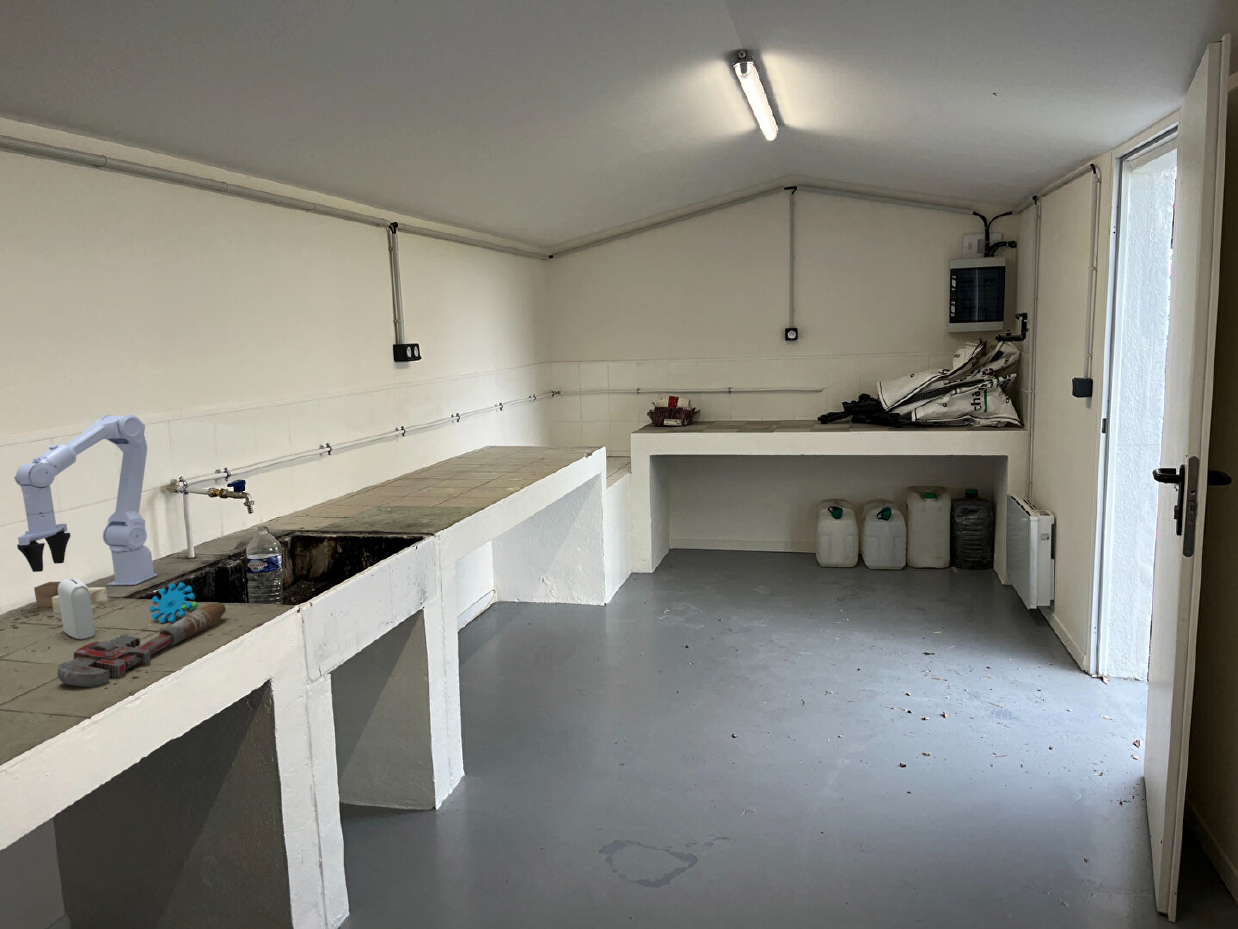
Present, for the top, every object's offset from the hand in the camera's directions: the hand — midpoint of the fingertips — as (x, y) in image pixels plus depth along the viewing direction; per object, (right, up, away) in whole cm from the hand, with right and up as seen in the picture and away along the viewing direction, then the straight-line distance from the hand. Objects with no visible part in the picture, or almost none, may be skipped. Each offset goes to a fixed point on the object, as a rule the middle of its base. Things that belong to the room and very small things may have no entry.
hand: (48, 567), depth 219 cm
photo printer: (+22, -12, -24) cm, 34 cm away
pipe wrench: (+44, -13, -37) cm, 58 cm away
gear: (+39, -10, -16) cm, 43 cm away
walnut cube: (0, -9, +2) cm, 10 cm away
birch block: (+9, -10, -2) cm, 14 cm away
